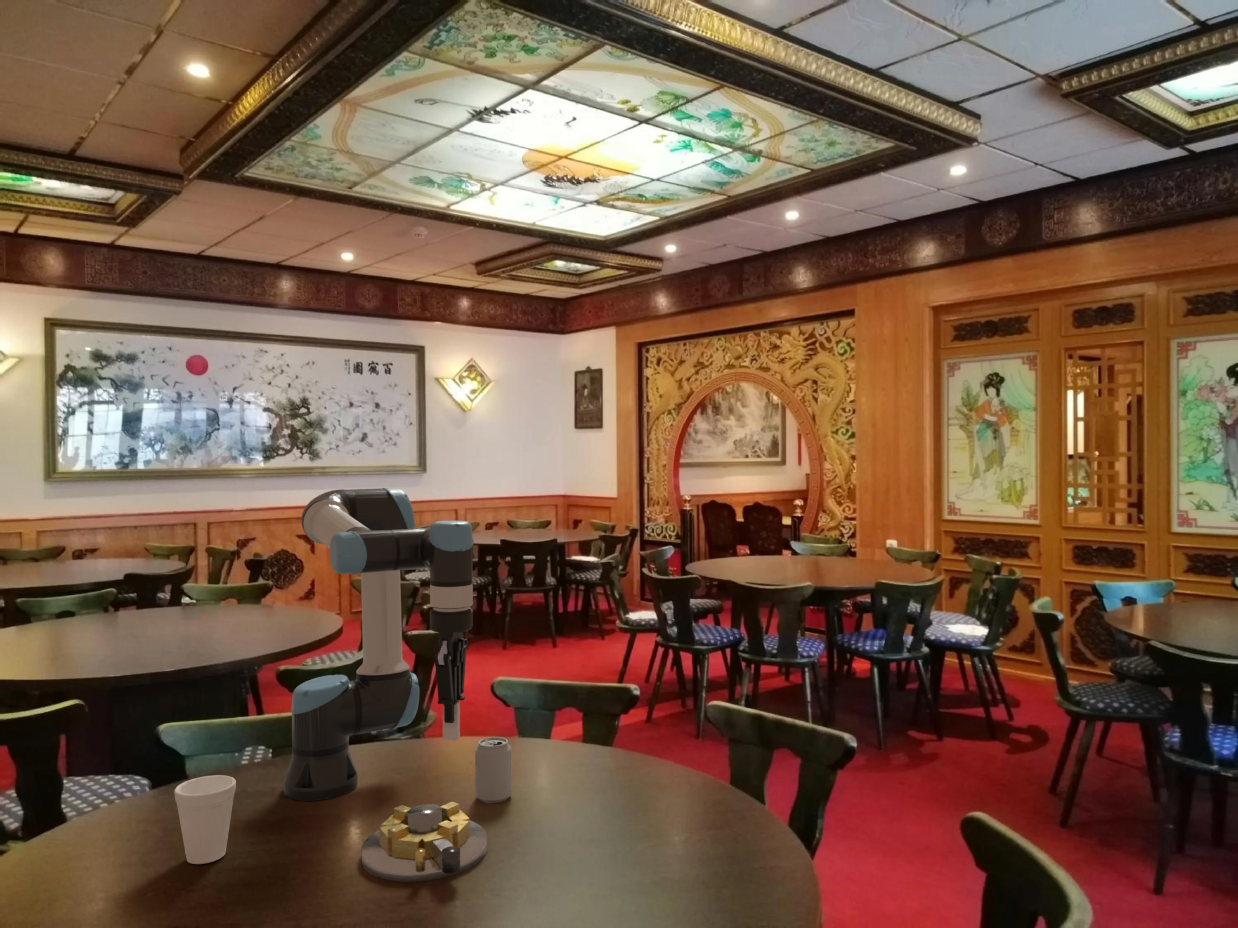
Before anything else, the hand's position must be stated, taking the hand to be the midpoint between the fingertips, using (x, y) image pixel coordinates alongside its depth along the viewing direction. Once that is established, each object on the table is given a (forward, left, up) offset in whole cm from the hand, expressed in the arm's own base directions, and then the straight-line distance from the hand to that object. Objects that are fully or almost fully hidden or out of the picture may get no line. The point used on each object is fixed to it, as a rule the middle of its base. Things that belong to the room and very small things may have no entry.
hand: (451, 738), depth 154 cm
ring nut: (0, -4, -18) cm, 19 cm away
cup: (-26, -36, -21) cm, 49 cm away
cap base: (-4, -4, -21) cm, 21 cm away
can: (-19, +18, -21) cm, 34 cm away
